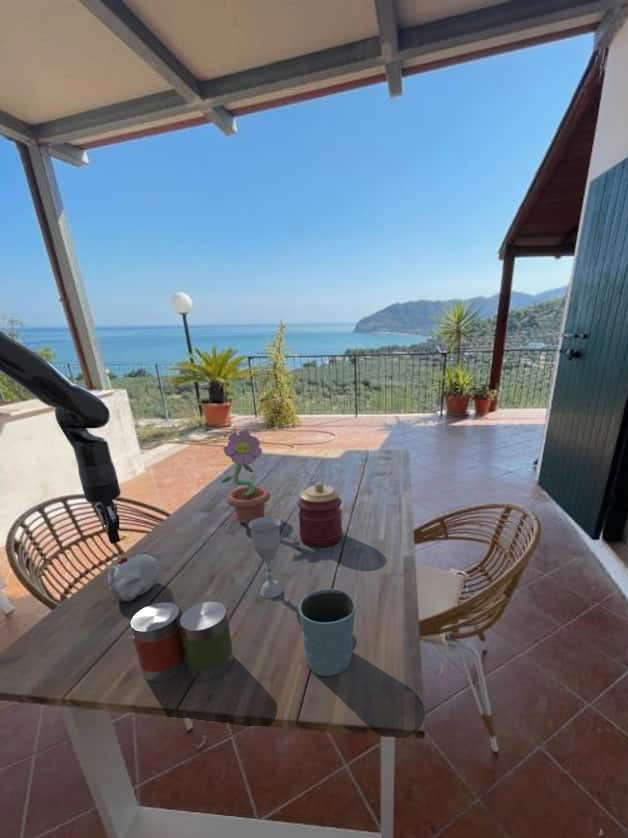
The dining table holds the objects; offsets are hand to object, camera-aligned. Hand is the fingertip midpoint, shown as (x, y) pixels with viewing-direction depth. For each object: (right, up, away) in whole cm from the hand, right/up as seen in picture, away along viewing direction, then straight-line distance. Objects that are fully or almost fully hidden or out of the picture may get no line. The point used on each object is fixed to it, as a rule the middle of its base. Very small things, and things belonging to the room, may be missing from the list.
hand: (115, 541), depth 102 cm
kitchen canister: (+52, -1, +17) cm, 55 cm away
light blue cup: (+58, -17, -28) cm, 67 cm away
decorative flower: (+27, +3, +29) cm, 40 cm away
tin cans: (+32, -18, -30) cm, 48 cm away
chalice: (+43, -11, -9) cm, 45 cm away
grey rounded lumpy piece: (+10, -10, -8) cm, 16 cm away
